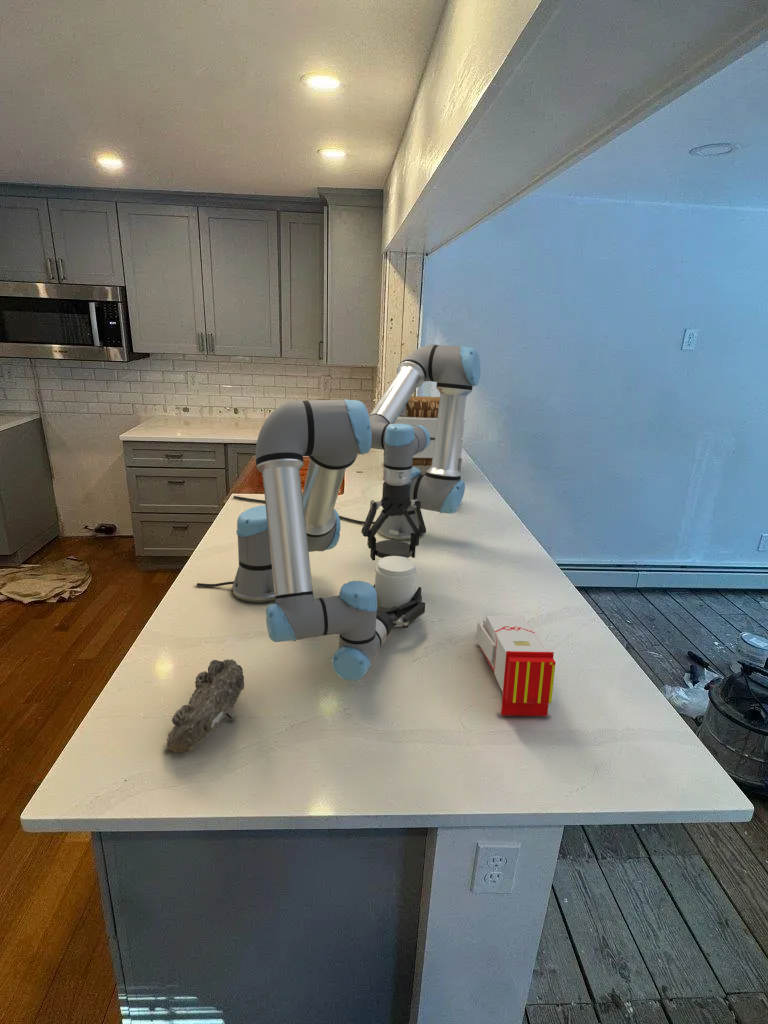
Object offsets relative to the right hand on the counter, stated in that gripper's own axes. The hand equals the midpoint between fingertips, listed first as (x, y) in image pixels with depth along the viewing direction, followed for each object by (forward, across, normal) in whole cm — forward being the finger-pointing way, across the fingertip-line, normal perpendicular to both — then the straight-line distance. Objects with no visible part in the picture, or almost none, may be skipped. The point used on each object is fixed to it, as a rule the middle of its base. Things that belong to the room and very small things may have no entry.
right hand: (392, 557), depth 160 cm
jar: (+9, -4, -17) cm, 20 cm away
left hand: (+3, -2, -13) cm, 14 cm away
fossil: (+10, -49, -46) cm, 68 cm away
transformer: (+7, +47, +111) cm, 120 cm away
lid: (-3, 0, 0) cm, 3 cm away
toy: (+9, +14, -46) cm, 49 cm away
